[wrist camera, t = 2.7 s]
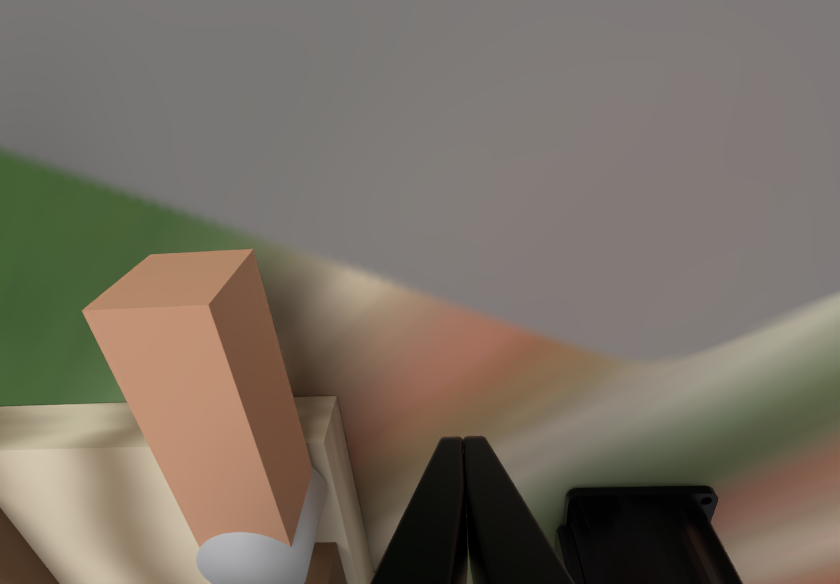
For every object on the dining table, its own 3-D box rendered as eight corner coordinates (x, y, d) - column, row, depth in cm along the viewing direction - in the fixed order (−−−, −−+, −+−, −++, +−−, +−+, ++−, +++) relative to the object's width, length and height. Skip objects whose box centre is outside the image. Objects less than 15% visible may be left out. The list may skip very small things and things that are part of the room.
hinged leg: (333, 515, 19) (315, 599, 16) (246, 516, 20) (214, 599, 17) (264, 246, 13) (219, 306, 11) (142, 253, 14) (66, 313, 11)
